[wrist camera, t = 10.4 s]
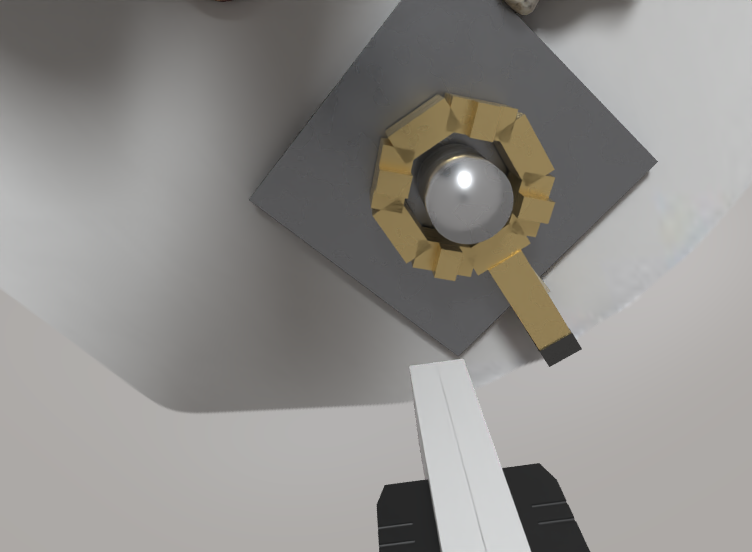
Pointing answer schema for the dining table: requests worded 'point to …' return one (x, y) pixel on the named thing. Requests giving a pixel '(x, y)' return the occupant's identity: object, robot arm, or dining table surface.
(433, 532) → the robot arm
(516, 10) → the stone
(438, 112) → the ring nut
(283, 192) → the base plate
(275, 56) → the dining table surface
